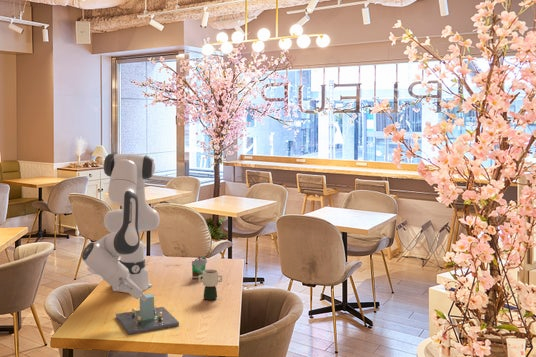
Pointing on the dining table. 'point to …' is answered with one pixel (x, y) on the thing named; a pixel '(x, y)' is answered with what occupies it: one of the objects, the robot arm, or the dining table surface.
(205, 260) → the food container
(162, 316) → the plate
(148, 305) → the module block
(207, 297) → the character mug
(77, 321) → the dining table surface
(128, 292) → the robot arm
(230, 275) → the dining table surface
